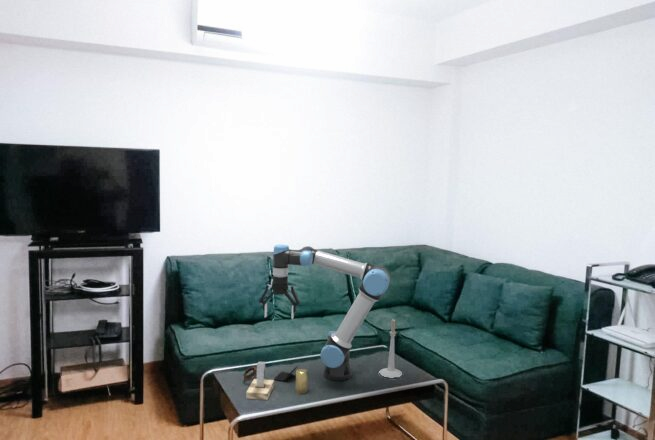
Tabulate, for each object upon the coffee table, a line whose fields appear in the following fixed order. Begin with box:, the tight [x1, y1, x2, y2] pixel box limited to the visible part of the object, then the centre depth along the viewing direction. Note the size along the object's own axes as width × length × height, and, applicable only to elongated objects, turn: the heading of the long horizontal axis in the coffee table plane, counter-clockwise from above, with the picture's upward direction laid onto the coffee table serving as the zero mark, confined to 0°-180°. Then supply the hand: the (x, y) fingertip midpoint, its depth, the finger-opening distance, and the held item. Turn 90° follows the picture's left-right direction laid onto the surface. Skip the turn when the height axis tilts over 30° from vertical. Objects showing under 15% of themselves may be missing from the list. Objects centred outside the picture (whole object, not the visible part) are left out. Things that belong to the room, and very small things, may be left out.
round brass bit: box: [295, 368, 309, 395], centre depth 241 cm, size 6×6×10 cm
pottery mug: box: [242, 365, 257, 382], centre depth 252 cm, size 12×10×8 cm
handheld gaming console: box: [273, 365, 298, 383], centre depth 256 cm, size 12×7×10 cm
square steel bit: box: [256, 361, 266, 388], centre depth 238 cm, size 3×3×14 cm
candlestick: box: [378, 318, 403, 378], centre depth 265 cm, size 13×13×30 cm
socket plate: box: [245, 378, 275, 401], centre depth 238 cm, size 10×16×3 cm, turn 175°
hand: (279, 317), depth 252 cm, fingers open, 13 cm apart
